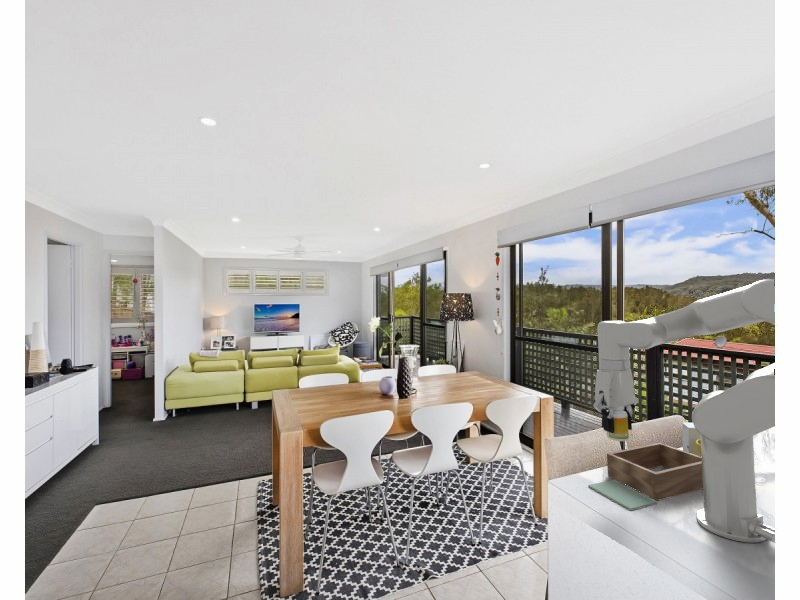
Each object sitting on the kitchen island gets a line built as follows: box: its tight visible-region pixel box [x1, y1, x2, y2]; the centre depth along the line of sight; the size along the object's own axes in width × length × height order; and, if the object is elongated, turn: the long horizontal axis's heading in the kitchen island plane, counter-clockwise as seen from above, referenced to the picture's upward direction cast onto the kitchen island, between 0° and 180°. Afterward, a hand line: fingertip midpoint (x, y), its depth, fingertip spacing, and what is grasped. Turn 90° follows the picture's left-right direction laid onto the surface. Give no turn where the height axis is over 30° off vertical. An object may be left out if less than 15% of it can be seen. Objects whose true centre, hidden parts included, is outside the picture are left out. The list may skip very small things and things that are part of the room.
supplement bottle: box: [605, 406, 630, 442], centre depth 107 cm, size 5×5×10 cm
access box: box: [606, 442, 703, 502], centre depth 114 cm, size 16×22×7 cm
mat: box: [587, 479, 658, 511], centre depth 107 cm, size 14×9×1 cm, turn 18°
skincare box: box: [681, 421, 701, 456], centre depth 126 cm, size 6×4×12 cm
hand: (617, 429), depth 107 cm, fingers closed on supplement bottle, 5 cm apart
